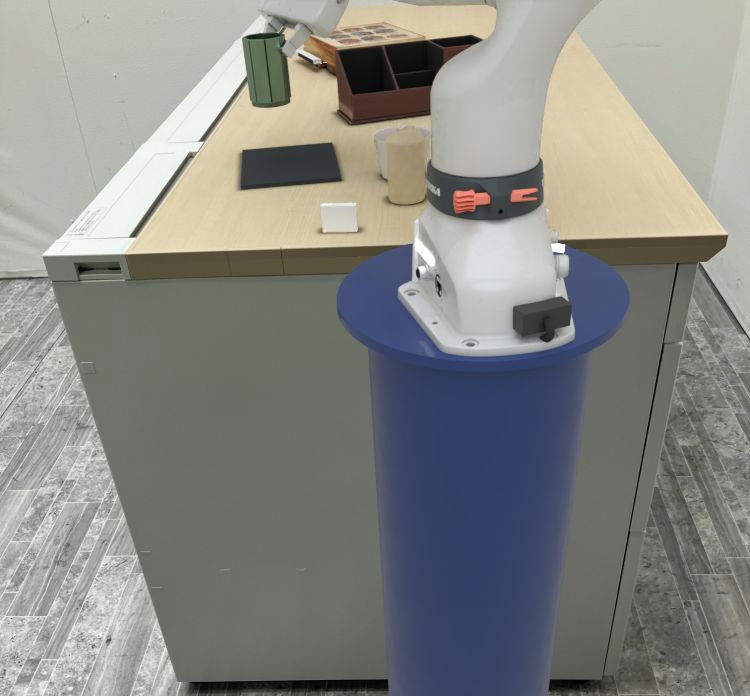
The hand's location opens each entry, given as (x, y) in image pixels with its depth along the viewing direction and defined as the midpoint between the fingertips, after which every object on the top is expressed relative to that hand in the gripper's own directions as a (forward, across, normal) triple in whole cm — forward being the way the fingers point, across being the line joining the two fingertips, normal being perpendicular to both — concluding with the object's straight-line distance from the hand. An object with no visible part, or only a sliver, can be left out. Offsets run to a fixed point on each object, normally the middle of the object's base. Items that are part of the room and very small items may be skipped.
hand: (273, 51), depth 128 cm
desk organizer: (-14, +16, -38) cm, 44 cm away
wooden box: (-23, +63, -48) cm, 83 cm away
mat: (+12, 0, -13) cm, 17 cm away
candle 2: (+4, -17, -21) cm, 27 cm away
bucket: (+5, 0, +2) cm, 5 cm away
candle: (+7, -26, -18) cm, 32 cm away
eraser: (+18, -31, -7) cm, 37 cm away
